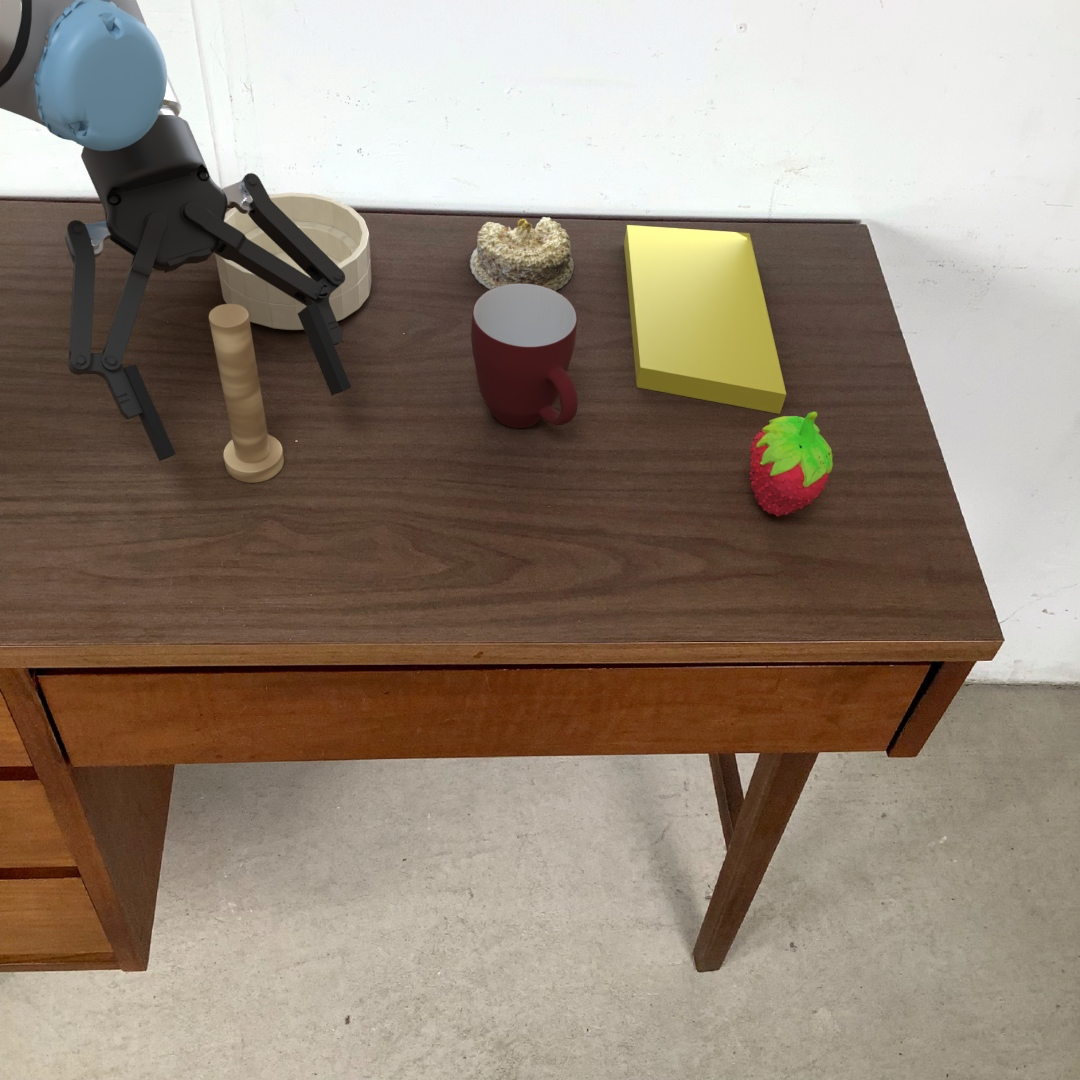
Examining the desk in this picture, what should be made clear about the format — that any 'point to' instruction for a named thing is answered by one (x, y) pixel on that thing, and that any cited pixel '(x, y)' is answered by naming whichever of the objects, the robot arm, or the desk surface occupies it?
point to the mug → (525, 353)
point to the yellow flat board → (701, 317)
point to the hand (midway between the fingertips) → (258, 424)
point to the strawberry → (789, 464)
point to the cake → (523, 255)
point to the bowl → (329, 230)
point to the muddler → (243, 398)
